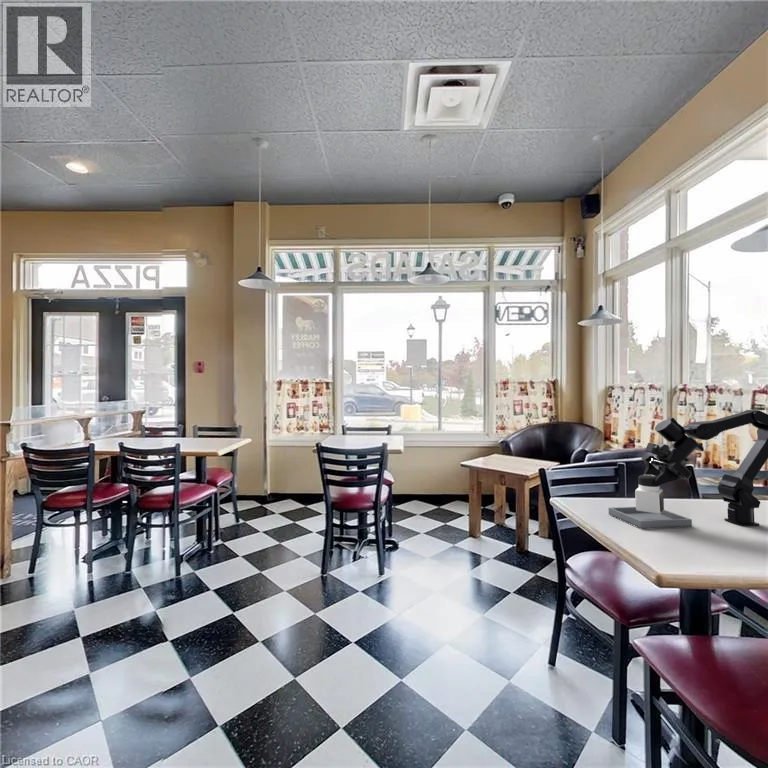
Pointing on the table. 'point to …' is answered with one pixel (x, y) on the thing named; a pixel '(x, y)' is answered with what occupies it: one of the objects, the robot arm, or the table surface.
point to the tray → (650, 518)
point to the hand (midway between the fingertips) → (647, 483)
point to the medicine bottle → (649, 495)
